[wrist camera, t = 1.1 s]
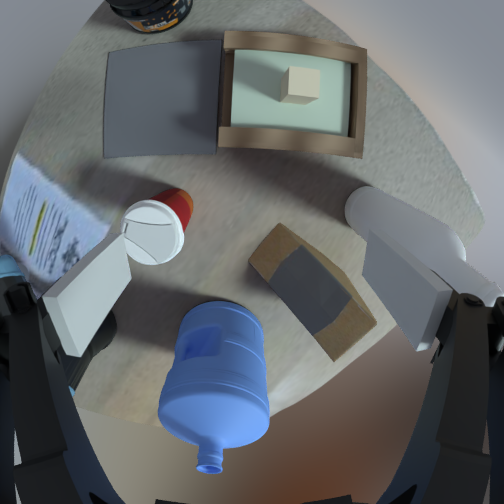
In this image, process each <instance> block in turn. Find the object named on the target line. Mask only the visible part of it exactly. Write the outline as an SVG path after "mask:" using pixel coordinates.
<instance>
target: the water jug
mask: <svg viewBox="0 0 504 504" xmlns="http://www.w3.org/2000/svg"><path fill="white" fill-rule="evenodd" d="M263 343H264V338H263V330H262V327H261V324H260V322H259V321H258V319H257V318H256V317H255V316H254V315H253V314H252V313H251V312H250V311H249V310H247V309H246V308H244V307H242V306H240V305H237V304H234V303H231V302H225V301H212V302H206V303H203V304H200V305H198V306H196V307H194V308H193V309H191V310H190V311H189V312H188V313H187V314H186V315H185V316H184V318H183V320H182V322H181V325H180V328H179V333H178V338H177V341H176V345H175V359H174V362H173V366H172V369H171V370H170V371H169V372H168V374H167V377H166V381H165V384H164V386H163V389H162V392H161V395H160V400H159V408H158V417H159V420H160V422H161V424H162V425H163V426H164V428H165V429H166V430H167V431H169V432H170V433H171V434H172V435H174V436H176V437H177V438H179V439H181V440H183V441H185V442H188V443H191V444H194V445H198V446H199V453H198V456H197V457H198V464H197V466H196V469H197V470H198V471H200V472H204V473H209V474H217V473H220V472H222V467H221V462H222V461H223V455H222V452H223V448H234V447H239V446H244V445H247V444H250V443H252V442H254V441H256V440H258V439H259V438H260V437H262V436H263V434H264V433H265V432H266V431H267V429H268V426H269V412H270V410H269V401H268V397H267V386H266V363H265V358H264V348H263Z"/></svg>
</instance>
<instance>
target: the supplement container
mask: <svg viewBox="0 0 504 504" xmlns="http://www.w3.org/2000/svg"><path fill="white" fill-rule="evenodd" d="M106 1H107V2H108V3H109V4H110V7H111V9H112V11H113V12H114V13H115V14H116V15H118V16H120V17H122V18H123V19H124V20H125V21H126V22H128V23H129V24H130V25H131V26H132V27H133V28H134V29H135V30H137V31H139V32H141V33H146V34H157V33H162V32H165V31H168V30H170V29H172V28H174V27H176V26H177V25H179V24H180V23H181V22H182V21H183V20H184V19H185V18H186V17H187V16H188V14H189V13H190V11H191V8H192V5H193V0H106Z"/></svg>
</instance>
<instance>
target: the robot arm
mask: <svg viewBox="0 0 504 504" xmlns="http://www.w3.org/2000/svg"><path fill="white" fill-rule="evenodd" d="M362 276H363V277H364V278H365V280H366V281H367V282H368V284H369V285H370V286H371V288H372V289H373V290H374V292H375V293H376V294H377V296H378V297H379V298H380V300H381V301H382V303H383V304H384V305H385V307H386V308H387V310H388V311H389V312H390V314H391V315H392V317H393V318H394V319H395V321H396V322H397V324H398V325H399V327H400V328H401V329H402V331H403V332H404V334H405V335H406V337H407V338H408V339H409V341H410V343H411V344H412V346H413V347H414V349H415V350H416V351H420V350H425V349H429V348H431V346H432V343H433V341H434V339H435V337H437V338H438V340H439V341H440V344H439V346H438V348H437V350H436V352H435V354H434V356H433V359H432V360H431V363H433V362H434V364H433V368H432V373H431V377H430V380H429V384H428V388H427V391H426V395H425V398H424V401H423V405H422V408H421V411H420V414H419V417H418V420H417V423H416V426H415V428H414V431H413V434H412V436H411V439H410V442H409V444H408V447H407V449H406V451H405V454H404V456H403V458H402V460H401V463H400V465H399V467H398V469H397V471H396V474H395V476H394V478H393V480H392V482H391V484H390V485H389V487H388V488H387V490H386V491H385V492H384V493H383V495H382V496H381V497H380V499H379V500H378V501H377V503H376V504H482V503H483V500H484V496H485V492H486V488H487V484H488V480H489V475H490V504H504V348H503V350H502V352H501V348H502V346H503V344H504V297H503V296H499V297H497V299H496V301H495V304H494V306H493V307H488V306H485V304H484V302H483V301H482V300H481V299H480V298H478V297H477V296H475V295H473V294H469V293H461V294H459V293H458V292H457V291H456V290H455V289H454V288H452V287H451V286H450V285H449V284H448V283H447V282H445V280H444V279H443V278H441V277H440V276H439V275H438V274H437V273H436V272H435V271H433V270H431V269H429V268H428V267H427V266H426V265H425V264H423V263H422V262H421V261H420V260H419V259H417V258H416V257H415V256H414V255H413V254H412V253H410V252H409V251H408V250H407V249H405V248H404V247H403V246H402V245H401V244H399V243H398V242H397V241H396V240H394V239H393V238H392V237H390V236H389V235H388V234H387V233H385V232H384V231H383V230H381V229H369V233H368V241H367V247H366V254H365V260H364V266H363V272H362ZM131 279H132V278H131V273H130V269H129V263H128V258H127V253H126V247H125V241H124V235H123V233H111V234H109V235H108V236H107V237H106V238H105V239H103V240H102V241H101V242H100V243H99V244H98V245H96V246H95V247H94V248H93V249H92V250H91V251H90V252H88V253H87V254H86V255H85V256H84V257H83V258H82V259H81V260H79V261H78V262H77V263H76V264H75V265H74V266H73V267H72V268H71V269H70V270H69V271H67V272H66V273H65V274H64V275H63V276H62V277H60V278H59V279H58V280H57V281H56V282H55V283H54V285H52V286H51V287H50V288H49V289H48V290H47V291H46V292H45V293H44V294H43V295H42V296H41V297H40V298H39V299H38V300H37V298H36V296H35V295H34V293H33V291H32V288H31V285H30V283H29V282H27V281H26V279H25V275H24V274H23V273H22V272H21V270H20V269H19V267H18V265H17V263H16V261H15V260H14V258H13V257H12V256H10V255H2V256H0V504H17V501H16V491H15V484H16V487H17V491H18V494H19V497H20V501H21V504H125V503H124V501H123V500H122V499H121V498H120V497H119V496H118V494H117V493H116V492H115V490H114V489H113V487H112V485H111V483H110V482H109V480H108V478H107V476H106V474H105V472H104V471H103V469H102V467H101V465H100V463H99V461H98V459H97V457H96V454H95V453H94V450H93V448H92V446H91V444H90V441H89V439H88V437H87V435H86V432H85V430H84V427H83V425H82V422H81V420H80V417H79V414H78V412H77V409H76V406H75V403H74V401H73V398H72V397H73V396H74V394H75V391H76V388H77V386H78V385H79V383H80V381H81V379H82V377H83V375H84V373H85V371H86V369H87V367H88V365H89V363H90V362H91V360H92V358H93V357H94V356H95V355H97V354H98V353H99V352H100V351H101V350H103V349H105V348H106V347H107V346H108V345H109V344H110V343H111V342H112V340H113V338H114V336H115V334H116V321H115V318H114V315H113V313H112V311H111V308H112V306H113V305H114V303H115V302H116V300H117V299H118V298H119V296H120V295H121V293H122V292H123V290H124V289H125V287H126V286H127V284H128V283H129V281H130V280H131ZM486 419H487V426H488V436H489V450H490V455H489V454H483V453H482V447H483V441H484V435H485V426H486ZM15 431H16V436H17V441H18V446H19V451H20V456H21V461H22V463H21V464H19V465H15V466H14V434H15ZM155 504H186V503H178V502H171V501H163V500H158V499H156V501H155ZM302 504H368V503H358V502H357V503H356V502H352V499H351V495H346V496H341V497H336V498H331V499H325V500H319V501H313V502H306V503H302Z"/></svg>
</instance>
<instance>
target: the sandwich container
mask: <svg viewBox="0 0 504 504" xmlns="http://www.w3.org/2000/svg"><path fill="white" fill-rule="evenodd" d="M248 261H249V262H250V264H251V265H252V266H253V267H254V268H255V269H256V270H257V271H258V273H259V274H260V275H261V276H262V277H263V278H264V280H265V281H266V282H267V283H268V284H269V285H270V286H271V288H272V289H273V290H274V291H275V292H276V293H277V295H278V296H279V297H280V298H281V299H282V300H283V302H284V303H285V304H286V305H287V306H288V308H289V309H290V310H291V311H292V312H293V314H294V315H295V316H296V317H297V318H298V319H299V321H300V322H301V323H302V324H303V325H304V326H305V328H306V329H307V330H308V331H309V332H310V333H311V335H312V336H313V337H314V338H315V339H316V341H317V342H318V343H319V344H320V346H321V347H322V348H323V349H324V351H325V352H326V353H327V354H328V356H329V357H330V358H331V359H332V361H333V362H335V361H336V360H337V359H338V358H340V357H341V356H342V355H343V354H344V353H346V352H347V351H348V350H349V349H350V348H351V347H352V346H354V345H355V344H356V343H357V342H358V341H359V340H360V339H362V338H363V337H364V336H365V335H366V334H367V333H368V332H369V331H370V330H372V329H373V328H374V327H375V326H376V325H377V321H376V319H375V318H374V316H373V315H372V313H371V312H370V310H369V309H368V307H367V305H366V304H365V302H364V301H363V299H362V298H361V296H360V295H359V293H358V292H357V290H356V289H355V287H354V286H353V284H352V283H351V281H350V280H349V278H348V277H347V276H346V274H345V273H344V272H343V271H342V270H341V269H340V268H339V267H337V266H336V265H335V264H334V263H333V262H332V261H330V260H329V259H328V258H327V257H326V256H325V255H323V254H322V253H321V252H319V251H318V250H317V249H315V248H314V247H313V246H311V245H310V244H309V243H307V242H306V241H305V240H303V239H302V238H300V237H299V236H298V235H296V234H295V233H294V232H292V231H291V230H289V229H288V228H287V227H285V226H284V225H282V224H281V223H278V224H277V226H276V227H275V228H274V229H273V230H272V231H271V232H270V233H269V235H268V236H267V237H266V238H265V239H264V240H263V241H262V243H261V244H260V245H259V247H258V248H257V249H256V251H255V252H254V253H253V254H252V256H251V257H250V258H249V260H248Z"/></svg>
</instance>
